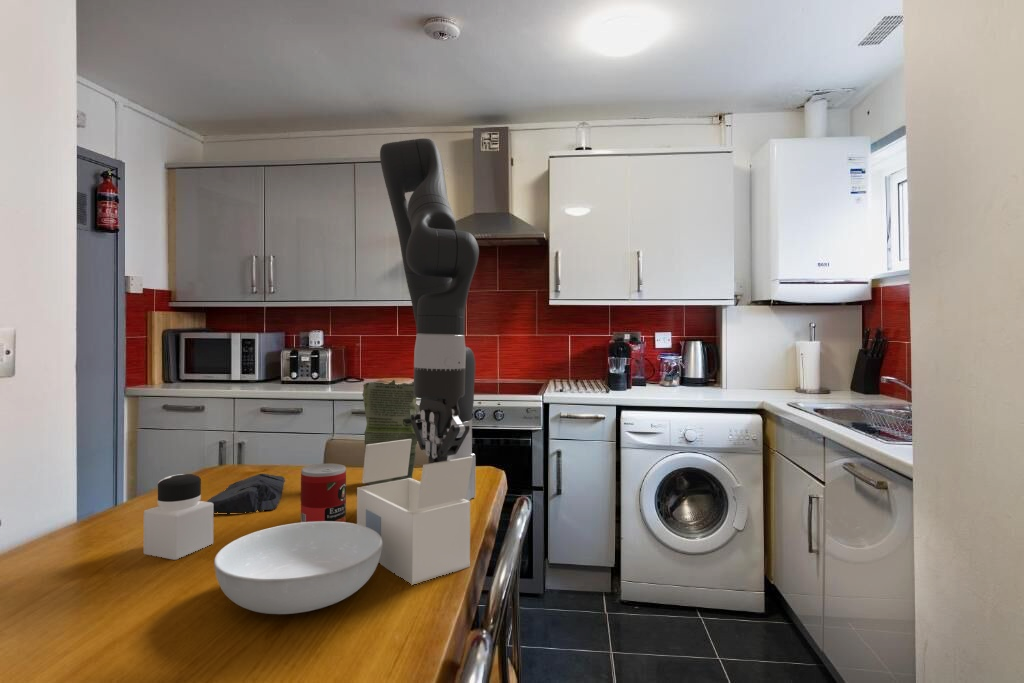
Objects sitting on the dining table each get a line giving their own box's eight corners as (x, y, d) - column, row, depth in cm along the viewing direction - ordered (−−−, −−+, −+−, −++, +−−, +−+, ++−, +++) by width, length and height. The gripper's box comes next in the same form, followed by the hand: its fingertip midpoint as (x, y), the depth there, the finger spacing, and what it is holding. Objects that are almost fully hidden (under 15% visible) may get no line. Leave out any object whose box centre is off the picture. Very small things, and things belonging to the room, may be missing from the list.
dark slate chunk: (295, 485, 128) (296, 465, 128) (274, 515, 107) (274, 491, 107) (226, 488, 125) (226, 468, 125) (189, 519, 104) (190, 495, 104)
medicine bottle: (214, 544, 90) (214, 473, 90) (175, 561, 83) (175, 484, 83) (182, 539, 92) (183, 469, 92) (142, 554, 86) (142, 479, 86)
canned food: (332, 537, 94) (332, 474, 94) (291, 533, 96) (291, 471, 96) (353, 522, 101) (354, 464, 101) (315, 519, 103) (315, 462, 103)
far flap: (407, 475, 95) (406, 474, 95) (411, 439, 94) (410, 438, 94) (362, 483, 89) (362, 482, 89) (366, 445, 88) (365, 444, 88)
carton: (409, 534, 96) (410, 477, 96) (469, 566, 82) (470, 501, 82) (356, 548, 89) (356, 487, 89) (411, 586, 75) (412, 515, 75)
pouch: (356, 484, 128) (357, 379, 128) (397, 475, 137) (397, 377, 137) (385, 493, 120) (385, 382, 120) (426, 483, 129) (426, 379, 129)
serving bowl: (386, 624, 65) (386, 567, 65) (193, 651, 60) (193, 589, 60) (378, 557, 85) (379, 514, 85) (233, 572, 79) (233, 526, 79)
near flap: (416, 508, 76) (417, 509, 76) (423, 464, 75) (424, 465, 75) (465, 497, 82) (466, 498, 81) (471, 456, 80) (473, 457, 80)
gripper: (487, 367, 76) (484, 488, 77) (437, 362, 87) (434, 469, 87) (442, 368, 72) (439, 497, 72) (395, 362, 82) (392, 476, 82)
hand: (437, 481), depth 79 cm, fingers closed
